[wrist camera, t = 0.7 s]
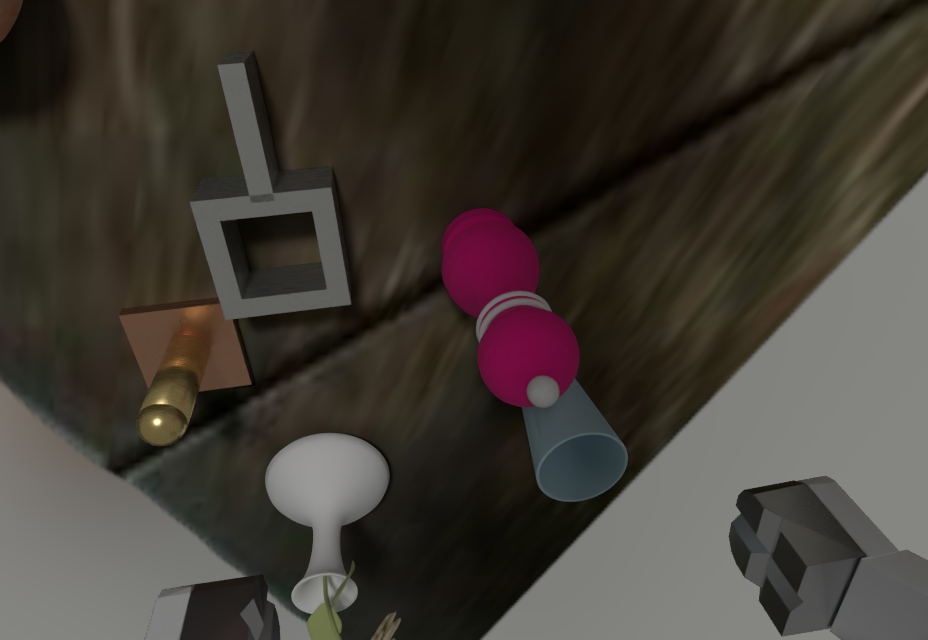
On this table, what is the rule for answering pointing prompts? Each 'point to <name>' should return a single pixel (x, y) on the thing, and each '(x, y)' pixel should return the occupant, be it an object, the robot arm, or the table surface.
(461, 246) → the pepper mill
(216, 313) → the post
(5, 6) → the orange pumpkin
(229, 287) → the steel link
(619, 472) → the cup
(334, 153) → the table surface
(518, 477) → the table surface
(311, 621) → the flower in vase
